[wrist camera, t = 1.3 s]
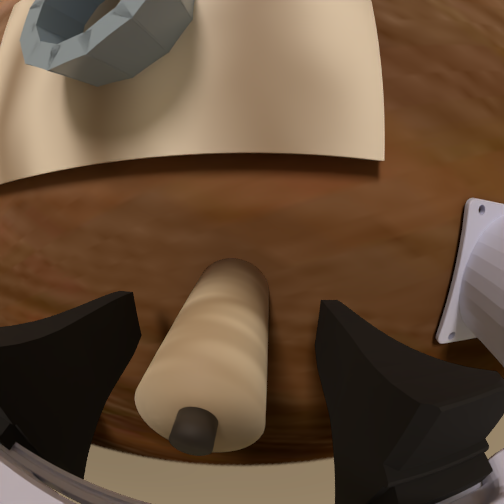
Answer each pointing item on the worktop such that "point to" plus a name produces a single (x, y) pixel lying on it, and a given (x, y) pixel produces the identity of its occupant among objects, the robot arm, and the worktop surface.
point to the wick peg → (212, 364)
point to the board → (206, 91)
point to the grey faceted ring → (102, 37)
